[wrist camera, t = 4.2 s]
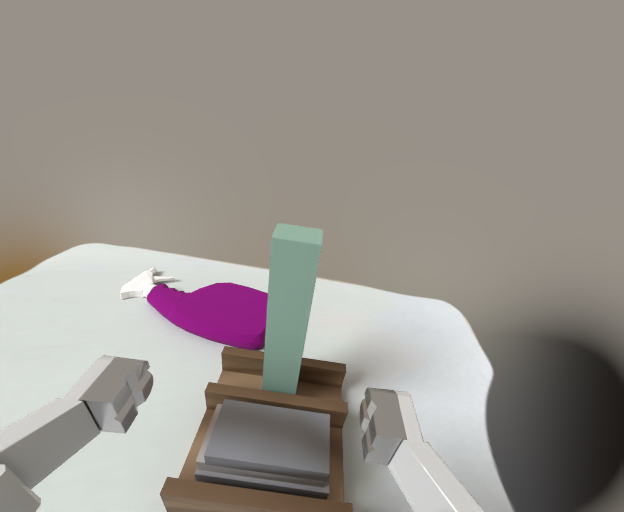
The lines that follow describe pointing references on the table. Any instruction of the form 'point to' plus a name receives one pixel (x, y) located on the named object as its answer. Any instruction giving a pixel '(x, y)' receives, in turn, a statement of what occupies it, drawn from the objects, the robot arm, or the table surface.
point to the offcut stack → (267, 449)
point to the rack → (248, 388)
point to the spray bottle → (207, 309)
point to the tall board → (289, 303)
